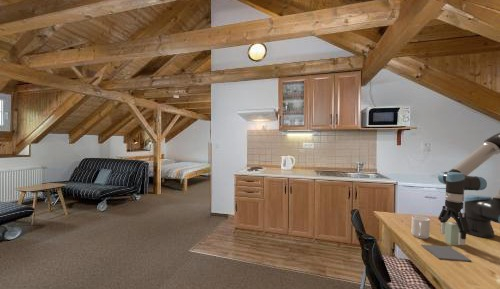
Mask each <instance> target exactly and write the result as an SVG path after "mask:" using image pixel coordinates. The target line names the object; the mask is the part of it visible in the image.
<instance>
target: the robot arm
mask: <svg viewBox="0 0 500 289" xmlns="http://www.w3.org/2000/svg"><path fill="white" fill-rule="evenodd" d="M499 154H500V132H497V133H496V134H493V135H492V136H489V138H486V139H485V140H484V141H483V142H482V143H480V146H479V147H478V148H477V149H475V150H474V151H472V152H471V153H470V154H469V155H468V156H466V157H465V158H464V159H462V160H461V161H460V162H459V163H457V164H456V165H455V166H454V167H452V168H451V169H450V170H448V171H441V172H439V173H438V176H437V179H438V182H439V183H441V184H443V185H445V201H444V205H443V206H442V209H441V211H440V214H439V215H438V221H440V234H441V235H445V228H446V222H449V220H450V218H451V219H453V220H454V221H455V223H457V225H458V227H459V230H460V231H459V238H458V244H459V245H460V246H466V239H467V234H468V235H471V236H474V237H475V236H476V237H479V238H485V239H492V238H495V231H494V228H493V226H492V223H491V222H493V223H495V224H496V223H497V224H500V189H499V190H498V193H497V195H494V196H487V195H478V194H477V195H476V194H475V195H474V194H470V195H466V196H465V191H475V192H476V191H477V192H478V191H484V190H485V189H486V188H487V186H488V183H487V182H488V181H487V180H486V179H485V178H484V177H482V176H476V175H475V176H473V175H470V174H471V173H473V172H474V171H475V170H477V169H478V168H479V167H480V166H481V165H483V164H484V163H485V162H487V160H490V159H491V158H492V157H493V156H494V155H499ZM464 199H465V200H464ZM462 210H464V212H462Z"/></svg>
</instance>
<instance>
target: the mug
mask: <svg viewBox="0 0 500 289" xmlns="http://www.w3.org/2000/svg"><path fill="white" fill-rule="evenodd" d="M430 224H431V219H430V218H428V217H426V216H421V215H412V216H411V228H410V229H411V232H410V234H411V235H412V236H413V237H415V238H417V239H423V240H427V239H429V238H430V232H431V231H430V229H431V228H430V226H431V225H430Z"/></svg>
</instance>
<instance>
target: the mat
mask: <svg viewBox="0 0 500 289" xmlns="http://www.w3.org/2000/svg"><path fill="white" fill-rule="evenodd" d="M420 246H421V247H422V248H424V249H425V250H426V251H427V252H428V253H430V254H431V255H433V256H434V257H435V258H437V259H438V260H446V261H456V262H457V261H459V262H472V260H471V259H470V258H469V257H467V256H465V255H464V254H462V253H461V252H459V251H457V250H456V249H455V248H453V247H451V246H447V245H435V244H434V245H433V244H421V245H420Z"/></svg>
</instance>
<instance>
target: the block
mask: <svg viewBox="0 0 500 289" xmlns="http://www.w3.org/2000/svg"><path fill="white" fill-rule="evenodd" d="M445 223H446V228H445V234H444V242H445V243H446V244H448V245H450V246H458V245H459V244H458V238H459V231H460V230H459V227H458V225H457V223H456V222H453V221H447V222H445ZM459 246H461V245H459Z"/></svg>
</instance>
